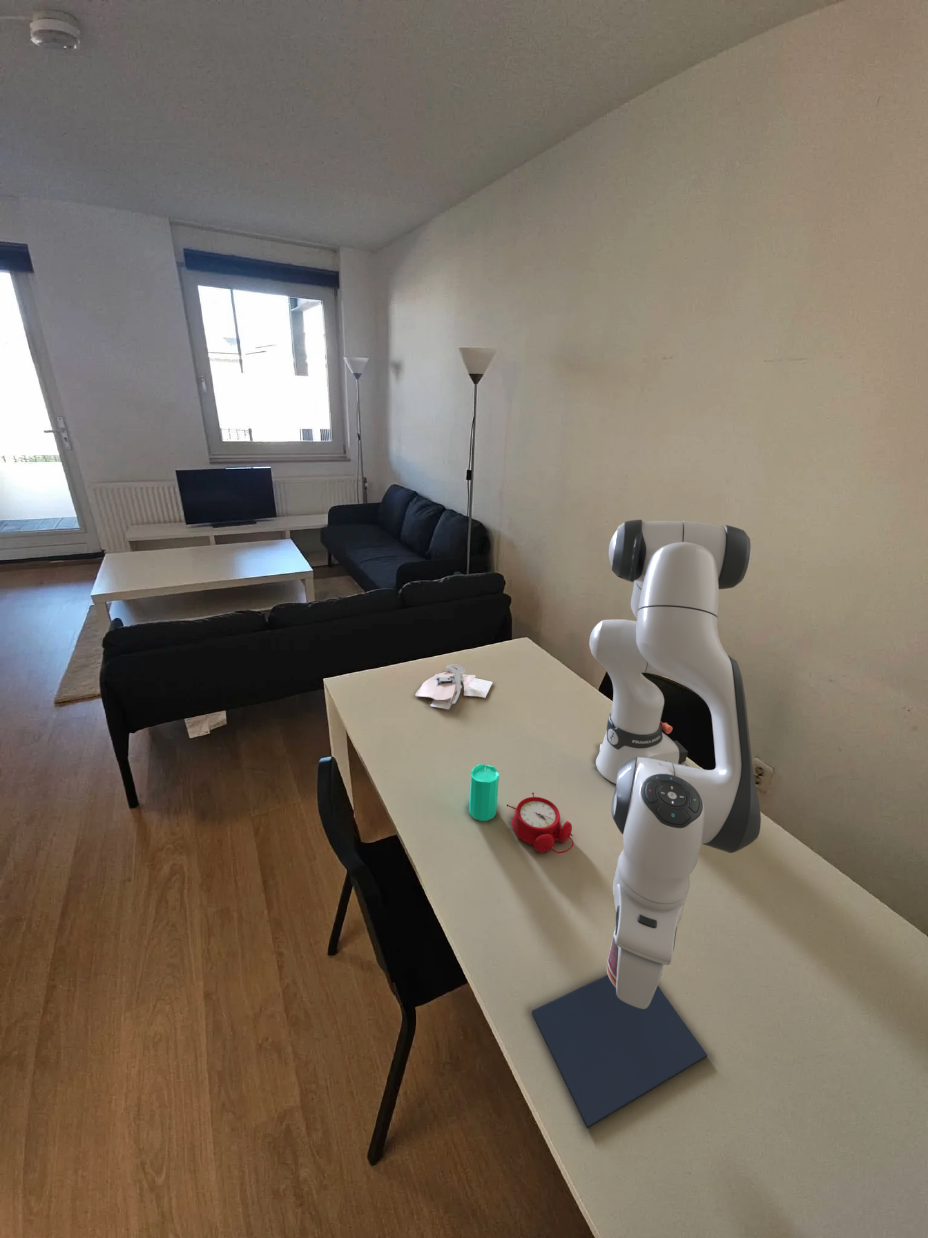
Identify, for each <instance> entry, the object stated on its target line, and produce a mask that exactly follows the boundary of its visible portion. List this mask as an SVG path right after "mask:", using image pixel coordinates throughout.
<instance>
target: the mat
mask: <svg viewBox="0 0 928 1238" xmlns="http://www.w3.org/2000/svg"><path fill="white" fill-rule="evenodd" d="M531 1015H532V1016H533V1019H534V1021H535V1023H536V1024H537V1025H536V1026H537V1027H538V1029H539V1031H540V1033H541V1035H542V1037H543V1039H544V1041H545V1044H546V1045H547V1047H548V1050H549V1052H550V1054H551V1056H552V1058H553V1060H554V1062H555V1065H556V1066H557V1068H558V1071H559V1072H560V1075H561V1077H562V1079H563V1081H564V1083H565V1085H566V1087H567V1089H568V1092H569V1093H570V1095H571V1097H572V1099H573V1102H574V1104H575V1105H576V1108H577V1109H578V1112H579V1114H580V1116H581V1118H582V1120H583V1122H584V1124H585V1126H586V1128H587V1129H590V1128H591V1127H592V1126H594V1125H596V1124H598V1123H599V1122H601V1121H603V1120H604V1119H606V1118H607V1117H609V1116H611V1115H613V1114H614V1113H616V1112H617V1111H619V1110H621V1109H622V1108H624V1107H626V1106H627V1105H629V1104H632V1102H634V1101H636V1100H638V1099H639V1098H642V1097H643V1096H645V1095H646V1094H648V1093H649V1092H651V1091H653V1090H654V1089H656V1088H658V1087H660V1086H661V1085H663V1084H664V1083H666V1082H668V1081H669V1080H671V1079H673V1078H674V1077H676V1076H677V1075H679V1074H681V1073H683V1072H684V1071H686V1070H688V1069H689V1068H691V1067H693V1066H694V1065H696V1064H698V1063H699V1062H701V1061H703V1060H704V1059H706V1058H707V1057H708V1053H707V1051H705V1050H704V1048H703V1047H702V1045H701V1043H699V1041H698V1040H697V1038H696V1037H695V1035H694V1034H693V1033H692V1031H691V1030H690V1029H689V1027H688V1026H687V1024H686V1023H685V1021H684V1020H683V1019H682V1018H681V1016H680V1015H679V1013H678V1012H677V1010H676V1009H675V1008H674V1006H673V1005H672V1003H671V1002H670V1000H669V999H668V998H667V997H666V995H665V993H664V992H663V991H662V990H661V988H660V987H659V985H658V986H657V988H656V991H655V993H654V996H653V998H652V1000H651V1002H650V1005H649V1006H648V1007H647V1008H646V1009H640V1008H637V1007H634V1006H632V1005H629V1004H627V1003H625V1002H623V1001H622V1000H620V999H619V998H618V997H617V994H616V988H615V986H614V985H613V984H612V982H611V981H610V979H609V977H608V974H607V975H604V976H602V977H600V978H598V979H595V980H593V981H592V982H590V983H588V984H585V985H583V986H581V987H579V988H577V989H574V990H572V991H571V992H568V993H565V994H564V995H562V996H560V997H557V998H556V999H553V1000H551V1001H549V1002H548V1003H545V1004H543V1005H541V1006H539V1007H537V1008H535V1009H533V1010H531Z"/></svg>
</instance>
